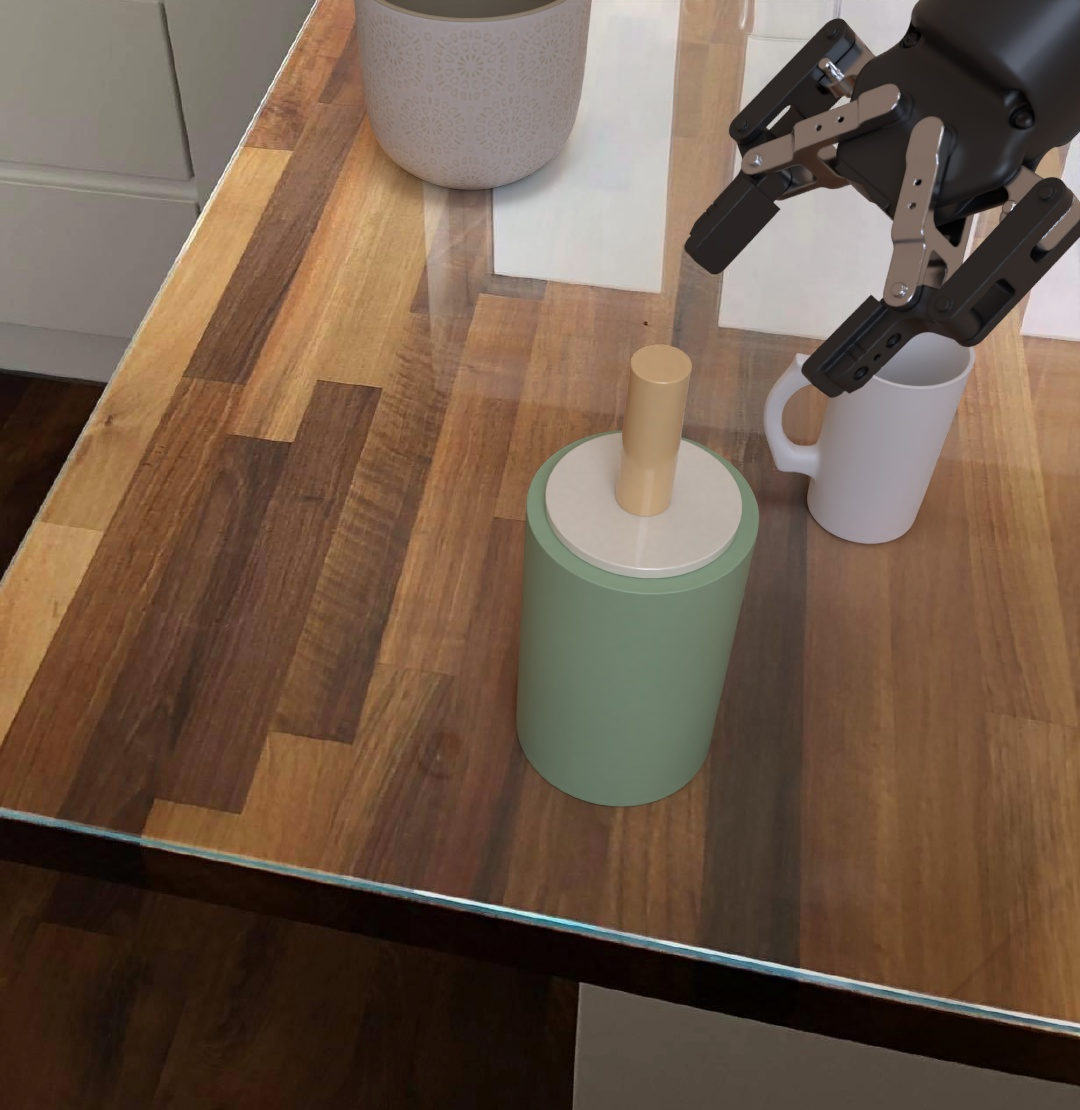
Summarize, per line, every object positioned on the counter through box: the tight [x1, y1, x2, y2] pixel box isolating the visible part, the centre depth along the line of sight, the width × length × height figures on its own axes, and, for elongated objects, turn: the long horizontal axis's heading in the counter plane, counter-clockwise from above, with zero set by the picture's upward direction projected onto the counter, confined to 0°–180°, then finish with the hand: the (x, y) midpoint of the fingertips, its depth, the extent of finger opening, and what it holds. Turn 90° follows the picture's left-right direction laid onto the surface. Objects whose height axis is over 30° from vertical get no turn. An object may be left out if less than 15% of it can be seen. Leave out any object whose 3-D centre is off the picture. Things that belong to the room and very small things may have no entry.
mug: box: [762, 332, 976, 545], centre depth 78 cm, size 10×7×12 cm, turn 82°
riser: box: [515, 429, 760, 807], centre depth 66 cm, size 10×10×16 cm
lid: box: [545, 343, 742, 578], centre depth 58 cm, size 8×8×8 cm
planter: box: [353, 0, 593, 191], centre depth 104 cm, size 17×17×15 cm
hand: (754, 321), depth 55 cm, fingers open, 8 cm apart
